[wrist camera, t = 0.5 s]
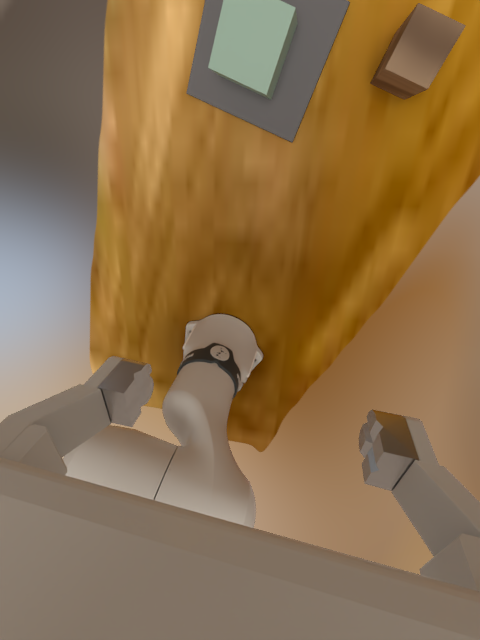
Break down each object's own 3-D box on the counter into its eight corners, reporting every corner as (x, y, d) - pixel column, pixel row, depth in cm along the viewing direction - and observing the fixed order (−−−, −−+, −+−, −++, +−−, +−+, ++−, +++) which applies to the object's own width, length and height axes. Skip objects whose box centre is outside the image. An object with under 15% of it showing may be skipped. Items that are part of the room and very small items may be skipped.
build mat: (292, 142, 42) (292, 142, 42) (188, 94, 42) (186, 93, 41) (349, 4, 34) (349, 1, 33) (219, -59, 33) (217, -62, 33)
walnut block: (404, 99, 37) (427, 89, 30) (370, 83, 37) (385, 68, 30) (432, 50, 34) (465, 25, 27) (395, 33, 34) (418, 2, 27)
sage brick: (271, 99, 40) (266, 94, 35) (219, 75, 39) (208, 67, 35) (297, 23, 35) (295, 7, 31) (238, -5, 35) (229, -25, 31)
